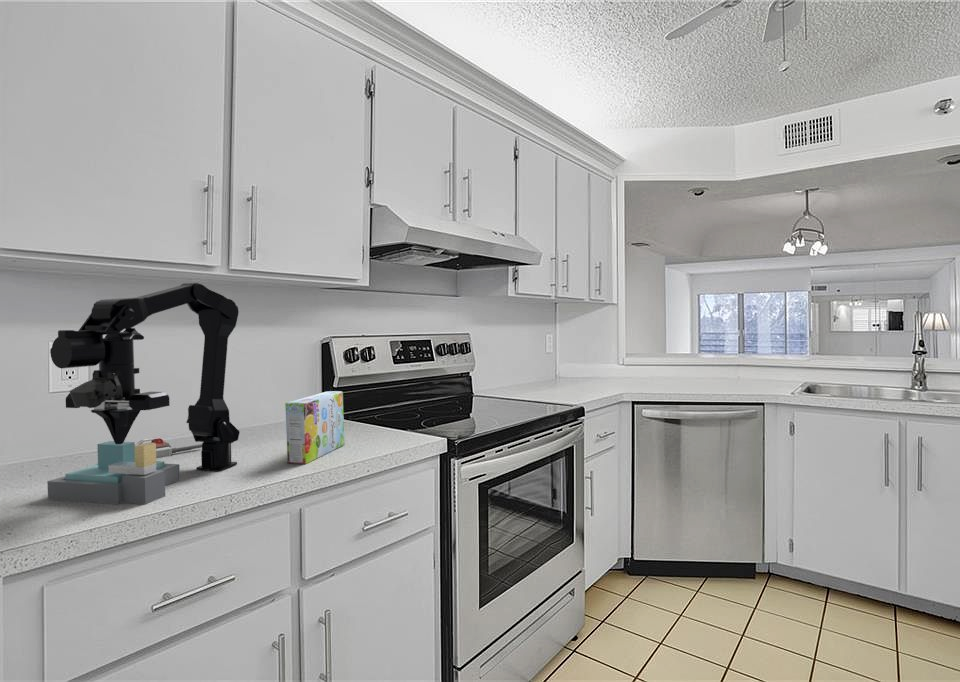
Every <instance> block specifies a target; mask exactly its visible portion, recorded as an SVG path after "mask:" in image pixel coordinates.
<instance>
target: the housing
mask: <svg viewBox="0 0 960 682" xmlns="http://www.w3.org/2000/svg"><path fill="white" fill-rule="evenodd" d="M180 476H181V474H180V464H179V463H165V462H164V467H163V468H160V469H157V470H156V471H155V472H152V473H149V474H146V475H134V474H128V475H125V476H122V482H120V483H108V482H92V481H76V480H66V477H65V475H64V476H60V477H57V478H54V479H51V480H47V500H54V501H55V500H56V501H67V502H68V501H69V502H81V503H83V502H84V503H96V504H97V503H98V504H107V505H108V504H109V505H110V504H111V505H112V504H113V505H120V504H123V503H124V504H138V505H139V504H140V505H147V504H149V503H152V502H155V501H157V500H159V499H161V498H163V497H166V487H167V486H168V485H172V484H174V483H177V482H179V481H181V480H180V479H181V478H180Z"/></svg>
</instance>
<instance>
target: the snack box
mask: <svg viewBox="0 0 960 682" xmlns="http://www.w3.org/2000/svg"><path fill="white" fill-rule="evenodd" d="M284 405H285V406H284V408H285V427H286V429H285V433H286V454H287V455H286V456H287V458H286V459H287V460H286V461H287V462H286V463H287V464H296V465H297V464H298V465H299V464H300V465H301V464H303V465H306V464H309V463H311V462H314V460H317V459H318V458H321V457H322V456H326V455H327V454H329V453H330V452H333V451H335V450H337V449H338V448H340V447H342V446H345V444H346V443H345V441H346V440H345V421H344V420H345V419H344V418H345V417H344V416H345V415H344V392H343V391H340V390H339V391H338V390H335V391H333V390H332V391H329V390H327V391H324V392H323V391H322V392H320V393H317V394H313V395H310V396H305V397H302V398H298V399H295V400H291V401H288V402H286V403H284Z"/></svg>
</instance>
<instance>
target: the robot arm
mask: <svg viewBox="0 0 960 682" xmlns="http://www.w3.org/2000/svg"><path fill="white" fill-rule="evenodd" d="M186 304H187V306H188V307H189V309H190V311H192V312H194V313H195V314H196V315H198V316H197V317H198V325H199V327H200V329H201V331H202V333H203V335H204V340H203V341H204V343H203V352H202V353H203V354H202V365H201V367H202V368H201V378H200V388H199V389H200V390H199V398H198V400H197V401H196V403H195V404H193V405H191V404H190V405H188V408H187V414H188V415H187V420H186V422H185V423H186V424H188V431H190V433H192V436H193V439H194V442H201V445H202V447H201V452H200V455H201V465H200V466H197V467H196V470H198V471H199V470H200V471H214V472H215V471H216V472H217V471H218V472H221V471H223V470H226V469H229V468H231V467H233V466H236V465H238V461H232V444H233V443H234V442H237V441H238V440H239V436H240V432H241V431H240V430H239V429H238V428H236V426H235V425H234V424H233V423H232V422H231V421H230V420H231V419H230V410H229V408H228V406H227V403H226V402H225V399H224V392H225V382H226V381H225V379H226V366H227V353H228V342H229V341H228V340H229V337H230V335H231V333H232V332H233V331H234V329H235V328H236V326H237V322H238V316H239V313H240V312H239V306H238V305H237V304H236V302H235V301H234V300H232V299H230V298H227V297H226V296H224V295H222V294H220V293H218V292H216V291H213V290H212V289H209V288H207V286H205V285H203V284H201V283H199V282H186V283H185V282H184V283H182V284H180V285H177V286H174V287H169V288H166V289H163V290H160V291H159V290H158V291H156V292H155V291H154V292H151V293H148V294H144V295H141V296H136V297H124V298H121V297H120V298H110V299H108V298H107V299H99V300H97V301H96V302H94V303H93V306H92V308H91V313H90V314H89V315H88V317H87V318H86V319H85V321H84V322H83V324H82V325H81V326H80V328H79V329H78V330H73V329H72V330H71V329H62V330H58V331H57V337H56V338H55V339H54V341H53V342H52V345H51V347H50V352H49V353H50V358H51V361H52V363H53V364H54V365H55V366H56V367H57V368H58V369H72V368H83V367H84V368H85V367H94V366H97V365H98V369H95V370H93V372H92V379H91V380H89V381H86V382H83V383H81V384H80V385H77V387H74V388H73V389H71V390H70V391H69V393H68V395H67V396H66V397H65V409H79V408H89V409H91V410H90V412H91V413H92V414H96V415H98V416H99V417H100V418H102V420H103V421H104V423H105V425H106V426H107V429H108V431H109V433H110V435H111V438H112V441H114V442H115V444H123V442H125V441H126V439H127V437H128V434H129V432H130V430H131V429H132V427H133V424H134V423H135V421H136V419H137V417H138V415H139V414H140V412H141V411H151V410H155V409H159V408H164V407H168V406H169V407H170V404H171V403H170V396H169V394H168V393H167V392H166V391H147V392H142V393H141V390H140V388H135V387H136V385H135V384H136V382H135V381H136V380H135V374H140V367H135V356H134V355H135V354H134V352H135V351H134V341H139V340H144V338H145V336H144V335H143V334H141V333H140V332H138V330H136V328H134V327H135V326H137V325H139V324H141V323H143V322H145V321H146V320H147V318H148V317H150V316H152V315H155V314H157V313H160V312H161V313H162V312H164V311H168V310H170V309H174V308H177V307H180V306H183V305H186ZM104 336H105V337H104Z"/></svg>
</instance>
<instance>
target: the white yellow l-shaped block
mask: <svg viewBox="0 0 960 682" xmlns="http://www.w3.org/2000/svg"><path fill="white" fill-rule="evenodd" d="M156 461H157V458H156V443H150V442H143V443H142V444H140V445H136V446H135V462H123V461H121V462H118V463H114V464H111V465H108V469H109V473H118V474H134V475H146V474H149V473H152V472H155V471H156Z"/></svg>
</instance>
